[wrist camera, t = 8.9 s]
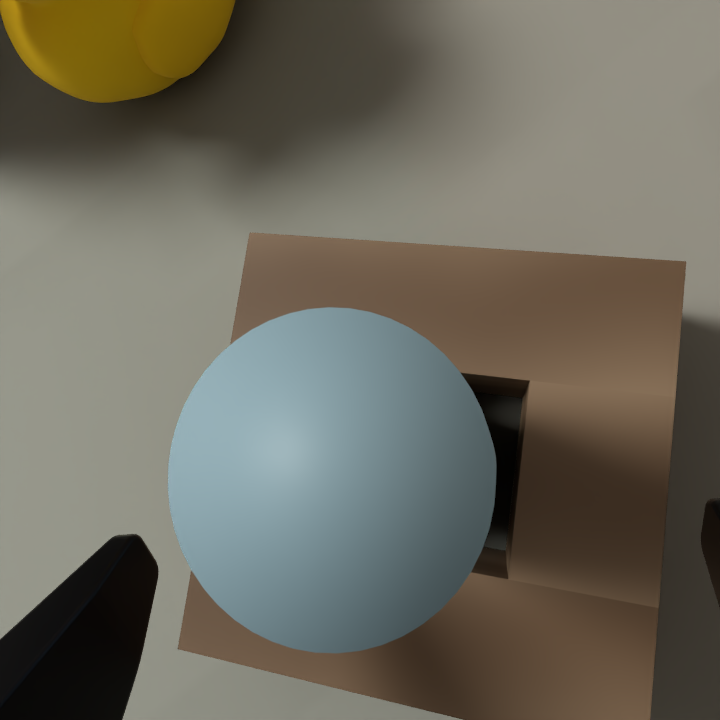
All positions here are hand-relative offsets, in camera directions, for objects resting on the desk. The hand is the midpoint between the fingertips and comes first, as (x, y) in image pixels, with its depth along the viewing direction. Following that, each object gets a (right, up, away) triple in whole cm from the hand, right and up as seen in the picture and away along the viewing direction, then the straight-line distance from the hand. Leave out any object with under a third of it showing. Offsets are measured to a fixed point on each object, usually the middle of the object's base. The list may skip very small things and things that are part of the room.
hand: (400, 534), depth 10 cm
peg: (+2, 0, +8) cm, 8 cm away
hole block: (+2, 0, +8) cm, 8 cm away
